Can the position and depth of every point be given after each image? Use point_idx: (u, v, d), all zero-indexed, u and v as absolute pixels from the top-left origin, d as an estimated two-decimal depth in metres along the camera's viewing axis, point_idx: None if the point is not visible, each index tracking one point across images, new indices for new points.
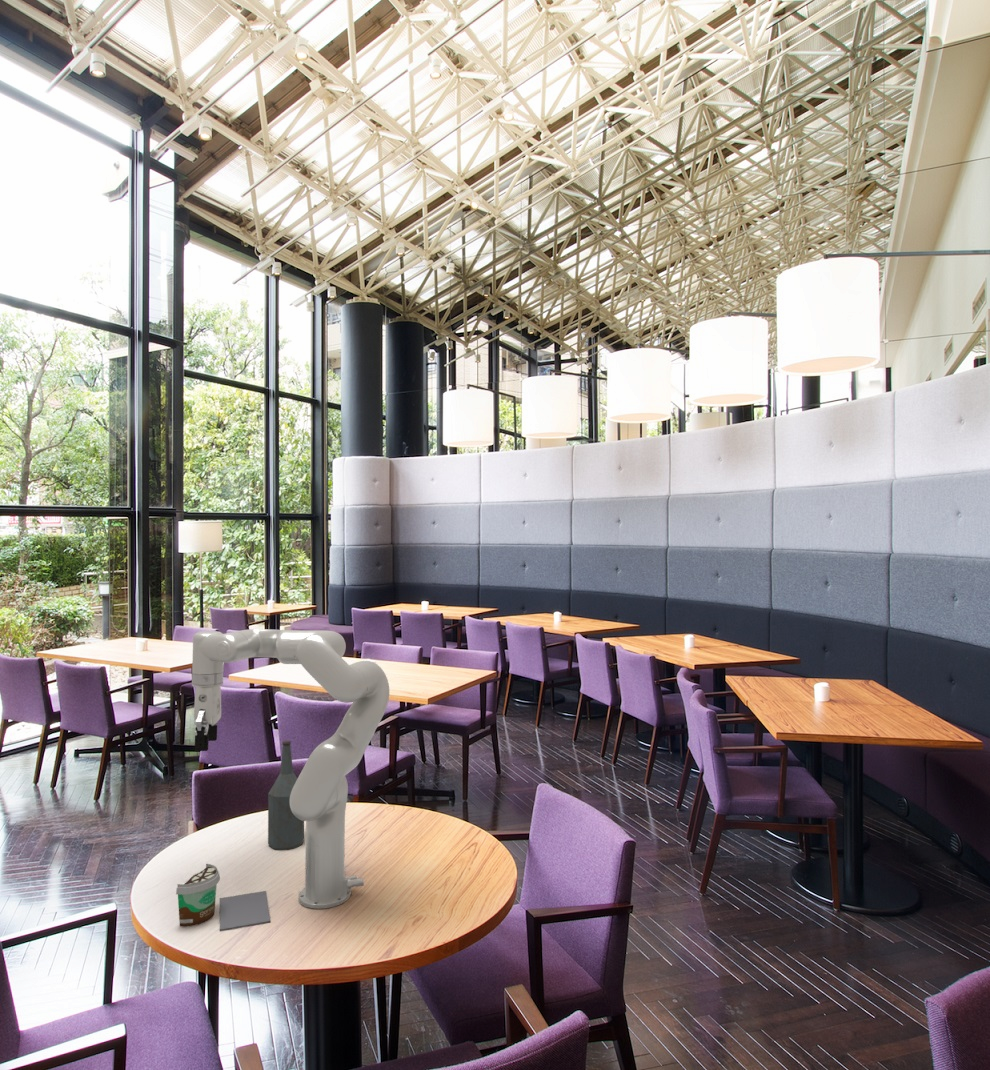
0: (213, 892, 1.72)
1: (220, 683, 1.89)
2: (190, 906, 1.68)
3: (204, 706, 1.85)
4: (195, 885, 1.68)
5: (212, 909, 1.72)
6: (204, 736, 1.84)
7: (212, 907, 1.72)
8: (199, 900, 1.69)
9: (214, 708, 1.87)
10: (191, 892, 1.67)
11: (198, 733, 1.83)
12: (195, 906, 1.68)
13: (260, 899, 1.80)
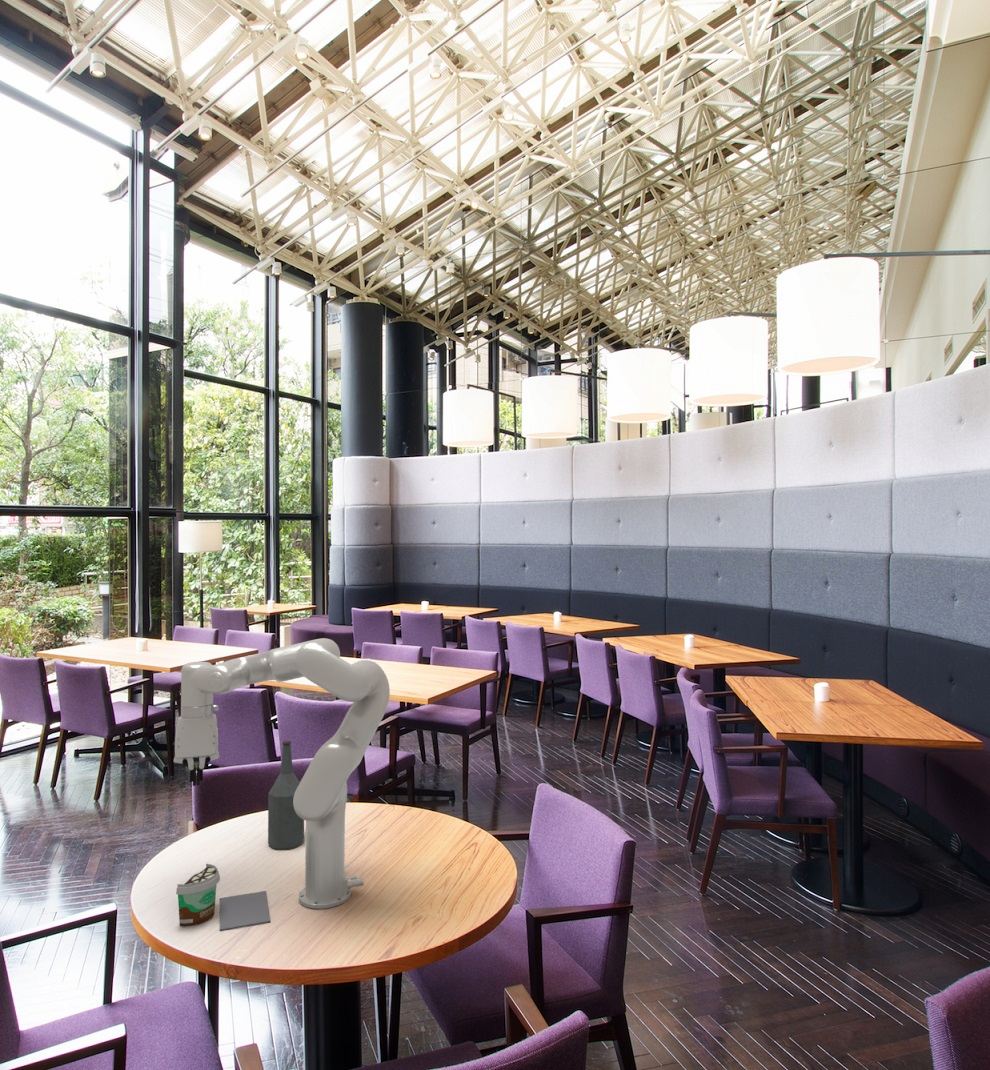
0: (213, 892, 1.72)
1: None
2: (190, 906, 1.68)
3: None
4: (195, 885, 1.68)
5: (212, 909, 1.72)
6: None
7: (212, 907, 1.72)
8: (199, 900, 1.69)
9: None
10: (191, 892, 1.67)
11: None
12: (195, 906, 1.68)
13: (260, 899, 1.80)
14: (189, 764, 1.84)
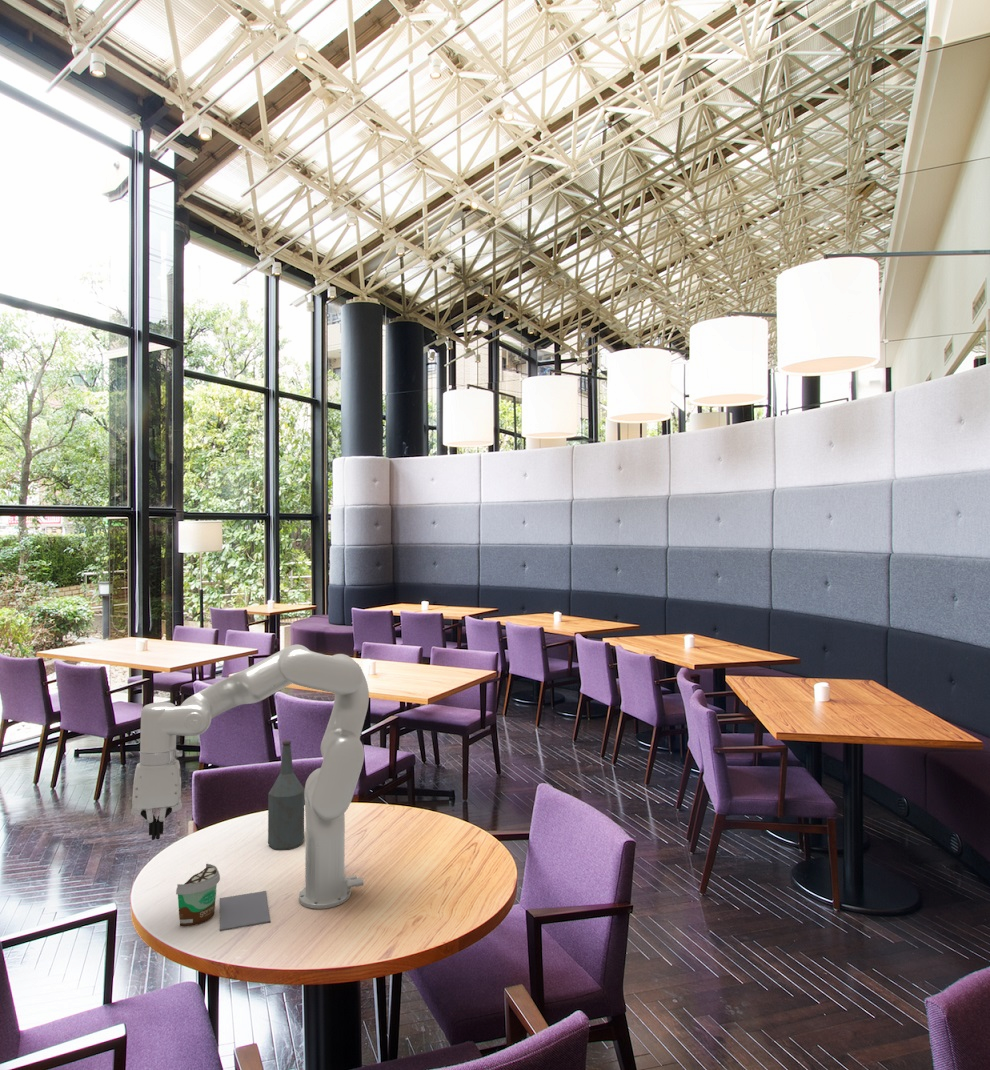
0: (213, 892, 1.72)
1: None
2: (190, 906, 1.68)
3: (180, 780, 1.71)
4: (195, 885, 1.68)
5: (212, 909, 1.72)
6: None
7: (212, 907, 1.72)
8: (199, 900, 1.69)
9: None
10: (191, 892, 1.67)
11: None
12: (195, 906, 1.68)
13: (260, 899, 1.80)
14: (148, 816, 1.67)
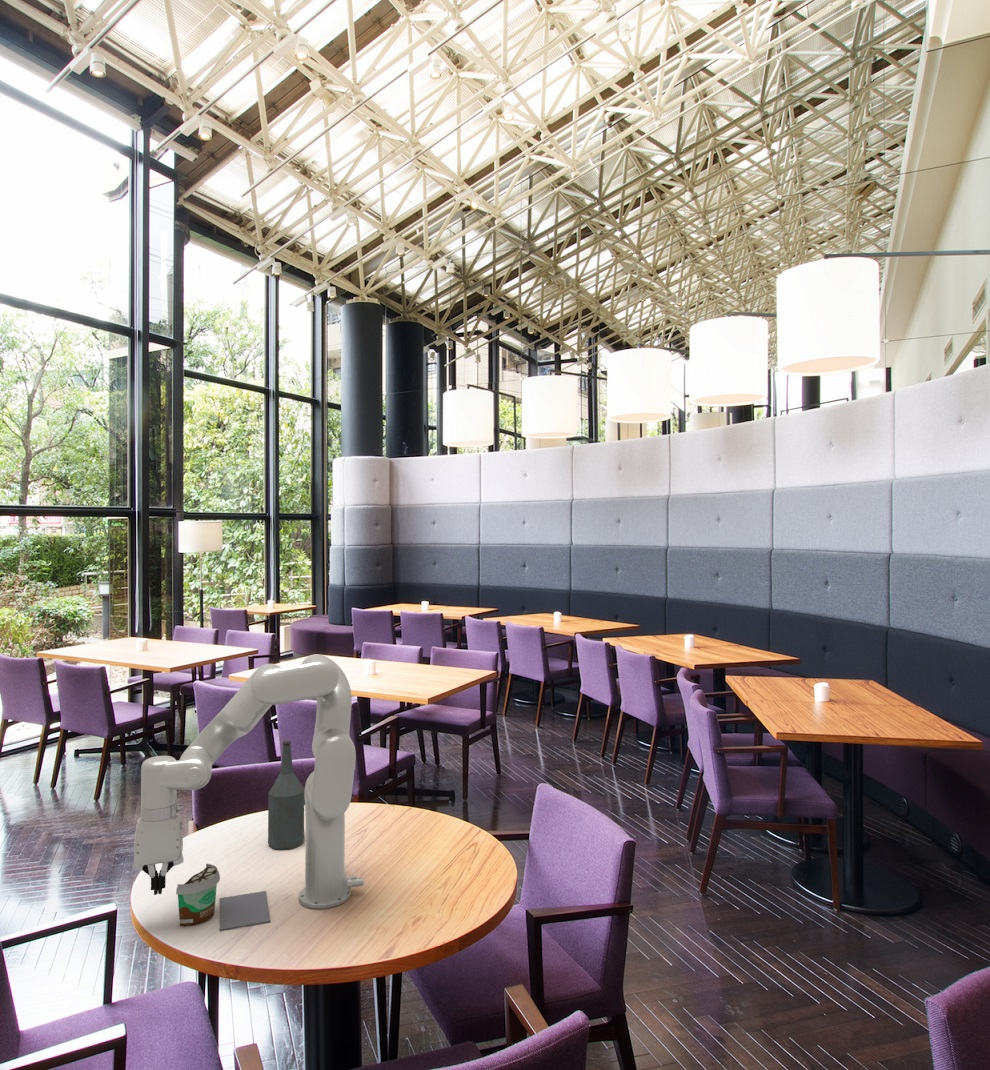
0: (213, 892, 1.72)
1: None
2: (190, 906, 1.68)
3: None
4: (195, 885, 1.68)
5: (212, 909, 1.72)
6: None
7: (212, 907, 1.72)
8: (199, 900, 1.69)
9: None
10: (191, 892, 1.67)
11: None
12: (195, 906, 1.68)
13: (260, 899, 1.80)
14: (150, 871, 1.67)
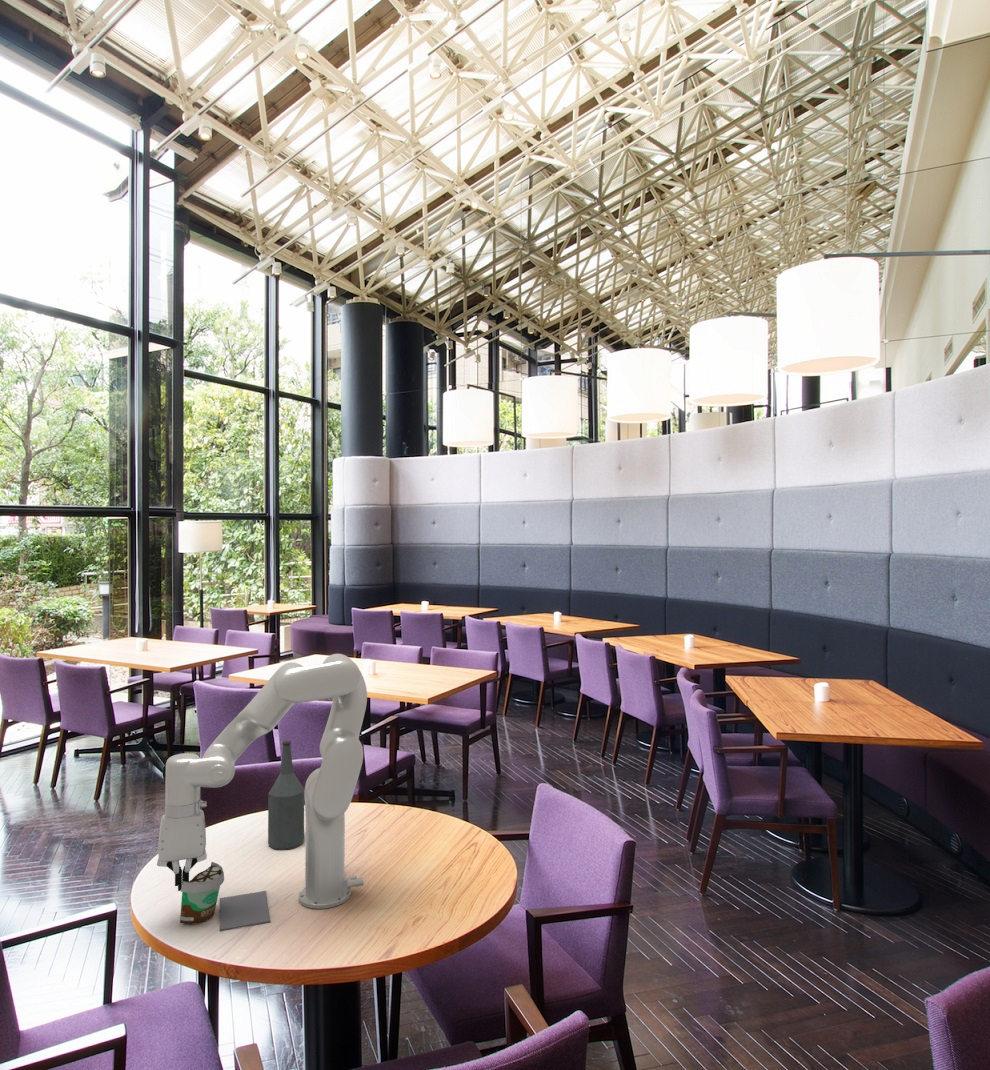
0: (216, 893, 1.72)
1: None
2: (193, 904, 1.68)
3: (205, 830, 1.73)
4: (200, 884, 1.68)
5: (213, 909, 1.72)
6: None
7: (213, 907, 1.72)
8: (202, 900, 1.69)
9: None
10: (196, 891, 1.67)
11: None
12: (198, 905, 1.68)
13: (260, 899, 1.80)
14: (174, 867, 1.69)
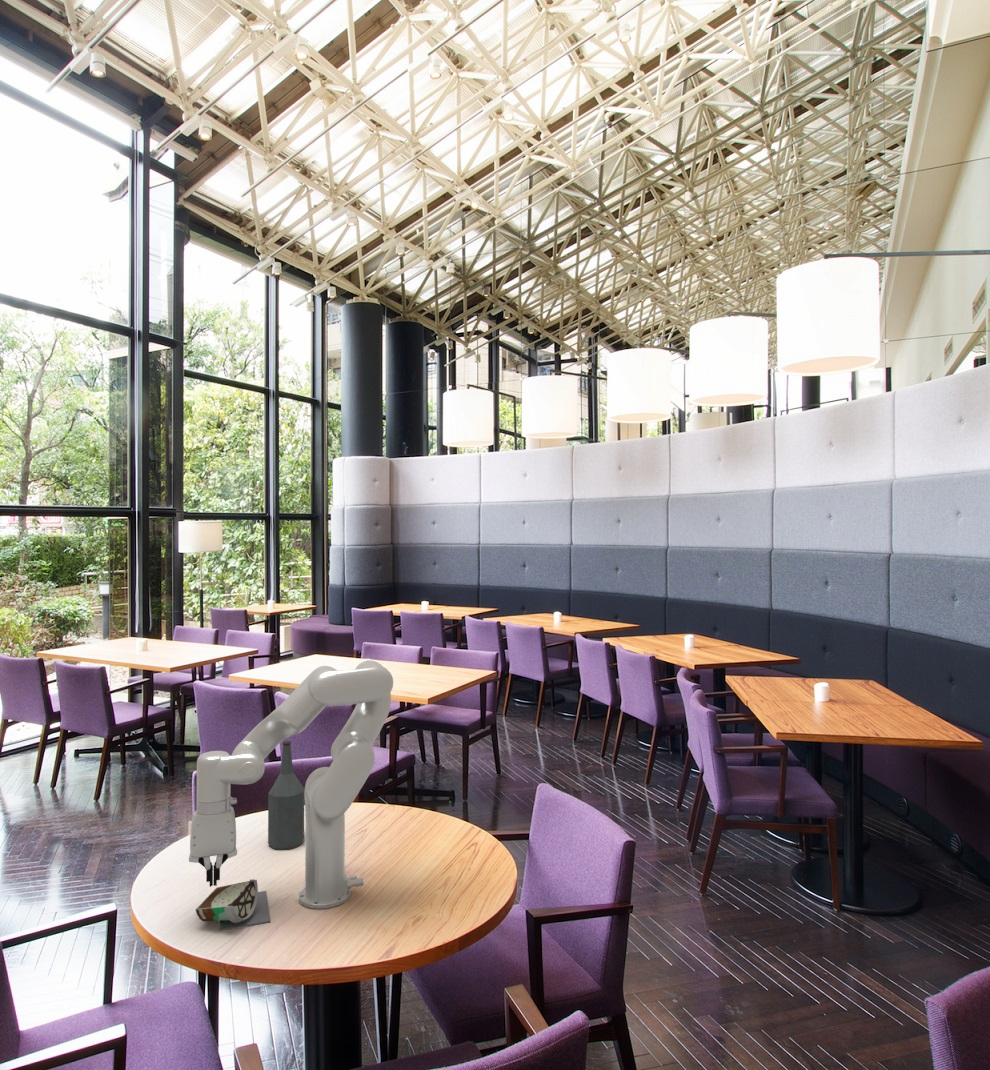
0: None
1: None
2: (217, 917, 1.66)
3: None
4: (237, 918, 1.66)
5: None
6: None
7: None
8: (225, 920, 1.67)
9: None
10: (230, 919, 1.65)
11: None
12: (218, 919, 1.67)
13: (260, 899, 1.80)
14: (205, 863, 1.71)
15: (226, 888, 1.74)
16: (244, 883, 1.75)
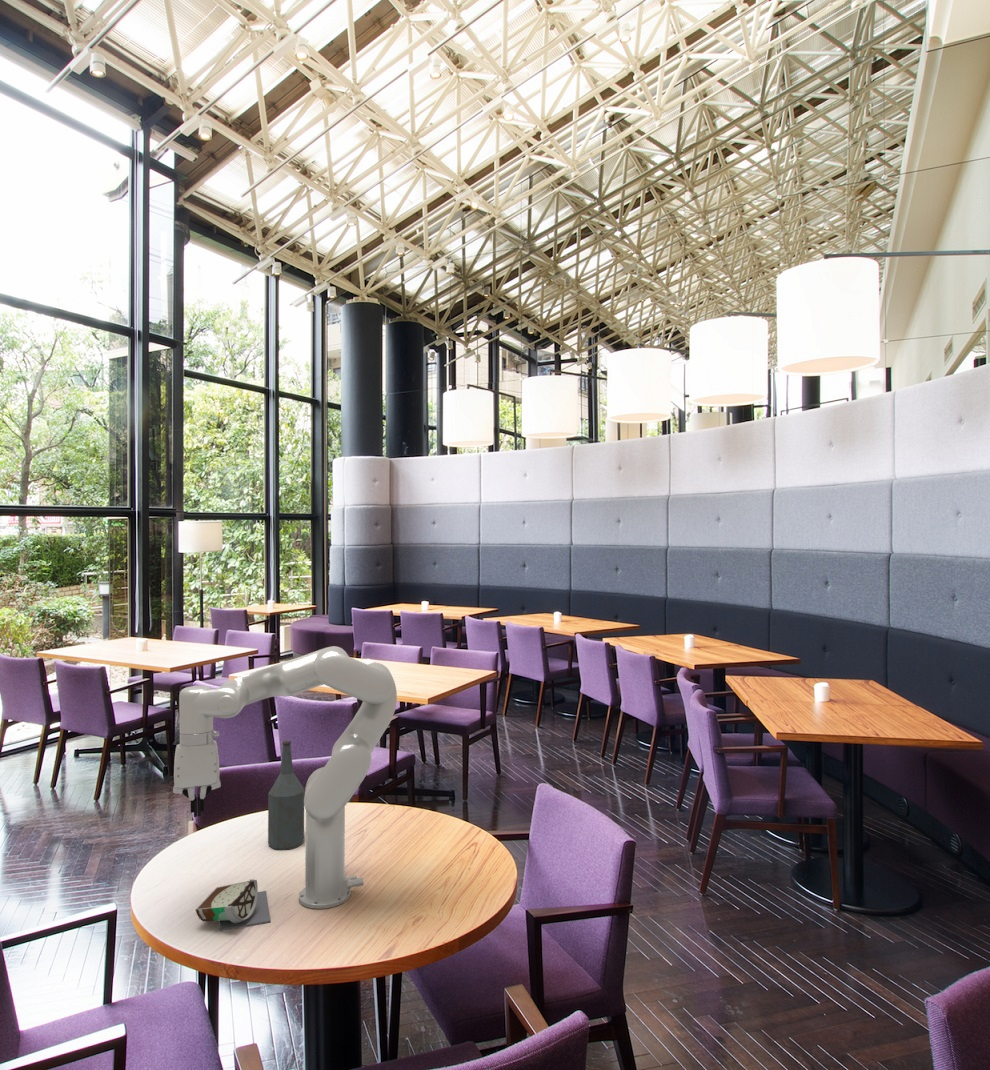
0: None
1: None
2: (217, 917, 1.66)
3: None
4: (237, 918, 1.66)
5: None
6: None
7: None
8: (225, 920, 1.67)
9: None
10: (230, 919, 1.65)
11: None
12: (218, 919, 1.67)
13: (260, 899, 1.80)
14: (190, 794, 1.75)
15: (226, 888, 1.74)
16: (244, 883, 1.75)
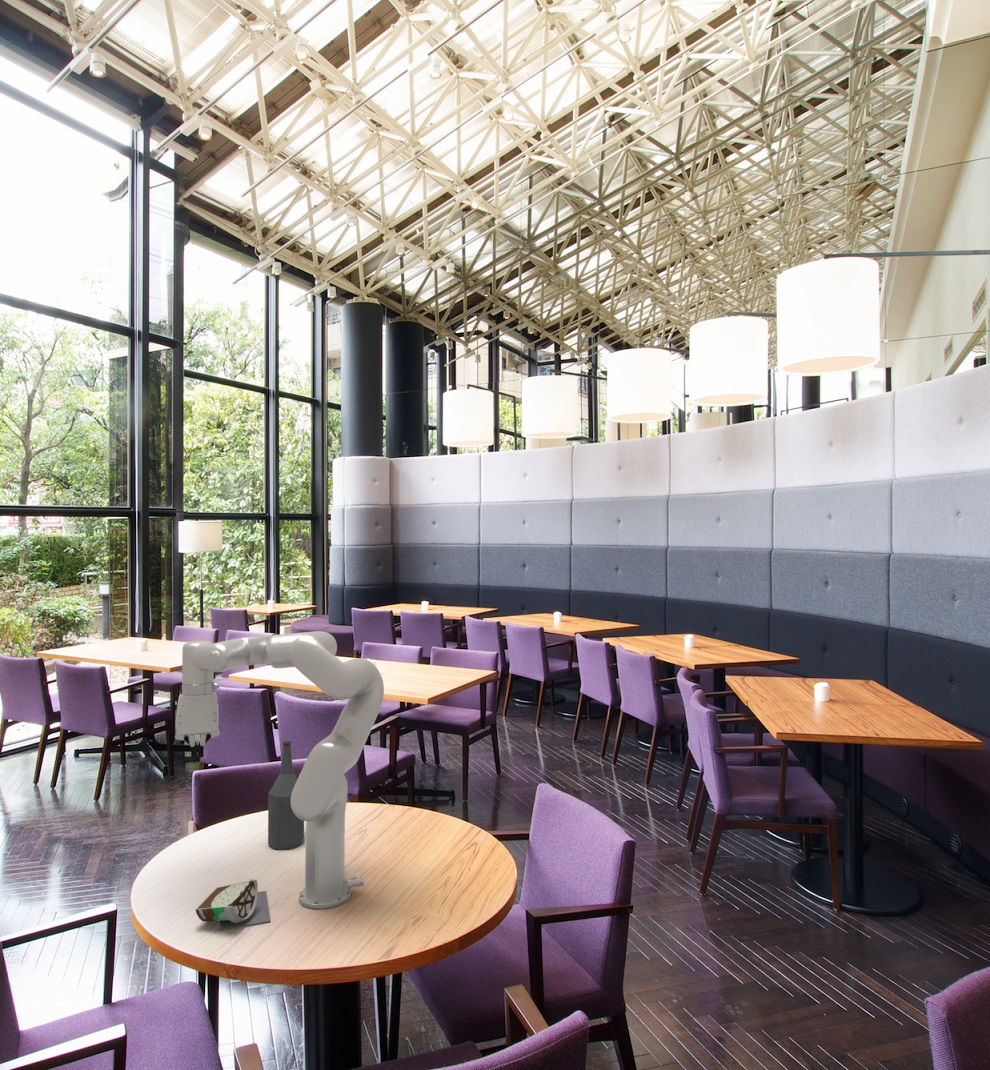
0: None
1: None
2: (217, 917, 1.66)
3: None
4: (237, 918, 1.66)
5: None
6: None
7: None
8: (225, 920, 1.67)
9: None
10: (230, 919, 1.65)
11: None
12: (218, 919, 1.67)
13: (260, 899, 1.80)
14: (190, 741, 1.87)
15: (226, 888, 1.74)
16: (244, 883, 1.75)
